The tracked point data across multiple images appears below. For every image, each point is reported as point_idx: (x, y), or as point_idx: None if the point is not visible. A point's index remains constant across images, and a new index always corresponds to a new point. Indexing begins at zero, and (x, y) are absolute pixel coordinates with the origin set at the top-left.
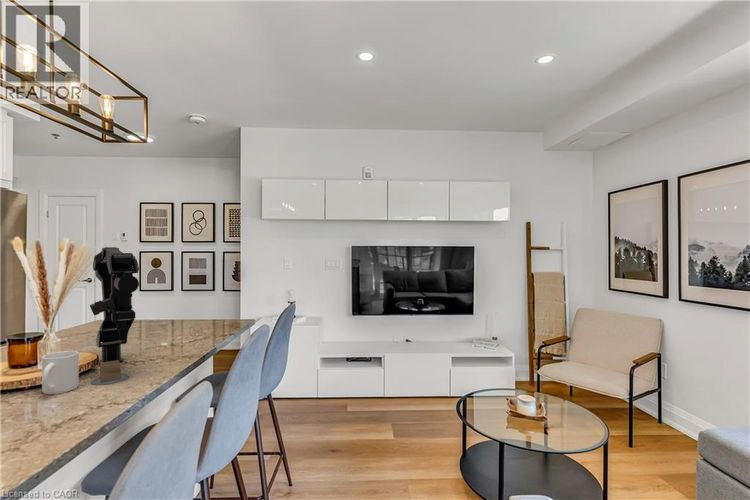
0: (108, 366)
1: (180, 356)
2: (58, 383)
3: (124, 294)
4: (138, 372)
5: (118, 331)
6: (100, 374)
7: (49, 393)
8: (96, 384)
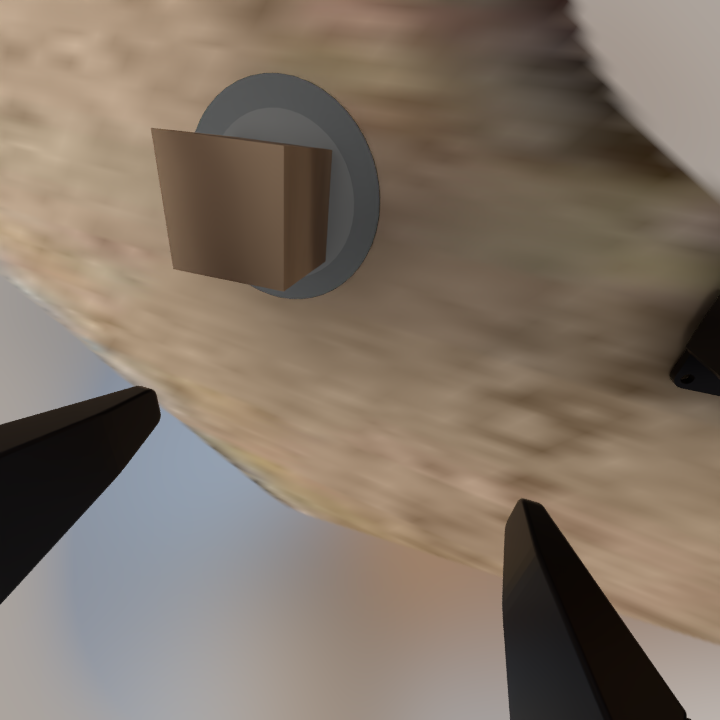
0: (166, 185)
1: (462, 559)
2: None
3: None
4: (322, 351)
5: (528, 540)
6: (288, 144)
7: None
8: (216, 103)
